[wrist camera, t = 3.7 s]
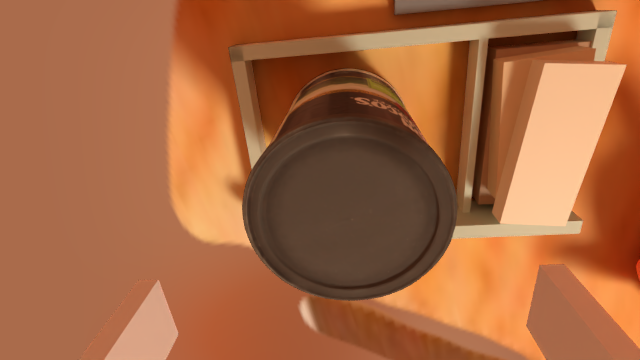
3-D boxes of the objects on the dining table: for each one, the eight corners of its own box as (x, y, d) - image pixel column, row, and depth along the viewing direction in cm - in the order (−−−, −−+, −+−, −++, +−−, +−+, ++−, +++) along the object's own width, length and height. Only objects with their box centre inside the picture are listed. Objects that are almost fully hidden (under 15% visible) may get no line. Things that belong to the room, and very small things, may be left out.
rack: (235, 44, 27) (213, 52, 22) (597, 10, 25) (656, 10, 20) (268, 221, 34) (256, 254, 29) (552, 207, 31) (589, 242, 27)
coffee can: (347, 37, 26) (350, 63, 14) (434, 130, 29) (503, 224, 16) (260, 130, 30) (199, 219, 17) (344, 206, 33) (345, 330, 20)
